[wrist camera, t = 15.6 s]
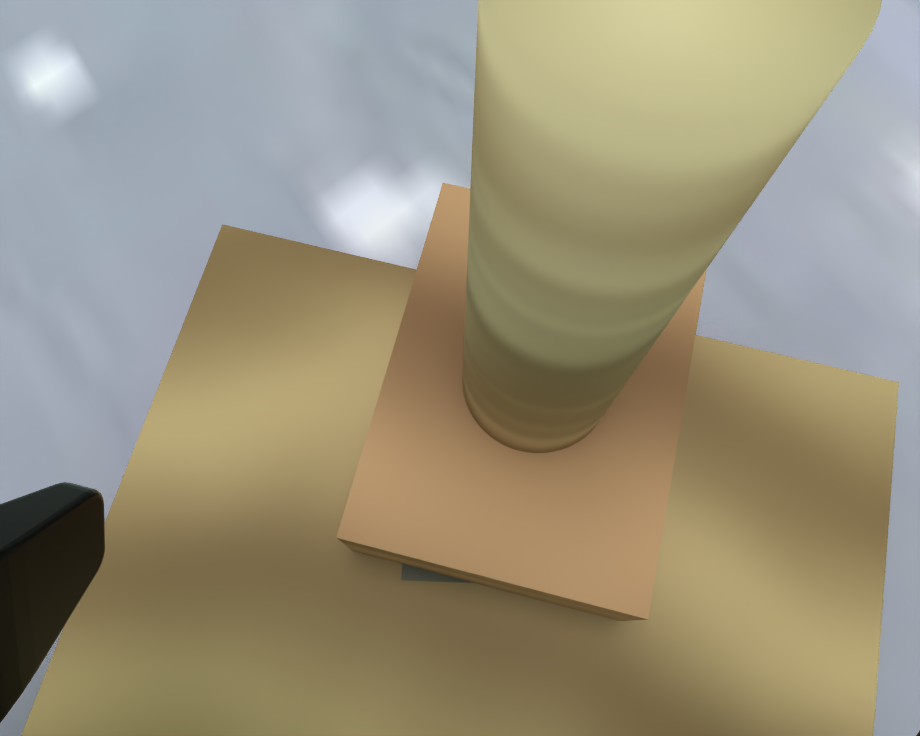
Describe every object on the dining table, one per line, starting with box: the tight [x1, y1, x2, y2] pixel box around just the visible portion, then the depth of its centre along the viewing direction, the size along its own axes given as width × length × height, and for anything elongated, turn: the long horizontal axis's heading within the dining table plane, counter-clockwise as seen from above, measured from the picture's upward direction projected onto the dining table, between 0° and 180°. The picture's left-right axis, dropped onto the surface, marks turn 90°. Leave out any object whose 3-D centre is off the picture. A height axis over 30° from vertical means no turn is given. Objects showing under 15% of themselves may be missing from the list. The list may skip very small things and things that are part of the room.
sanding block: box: [336, 0, 882, 621], centre depth 12 cm, size 8×6×13 cm
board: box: [21, 225, 899, 736], centre depth 17 cm, size 17×17×2 cm
